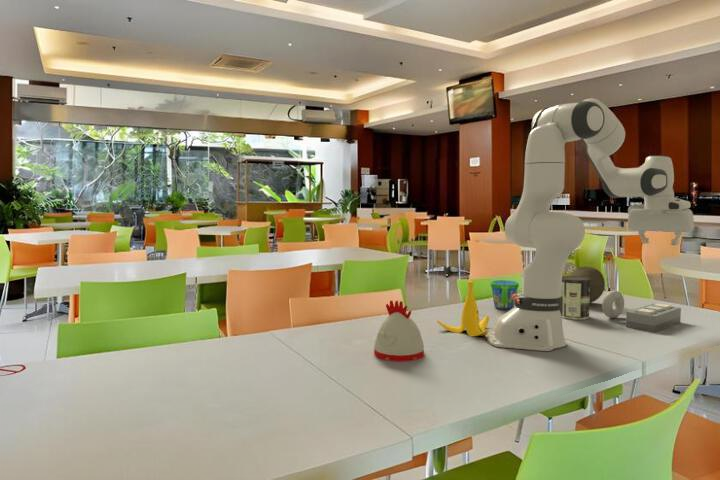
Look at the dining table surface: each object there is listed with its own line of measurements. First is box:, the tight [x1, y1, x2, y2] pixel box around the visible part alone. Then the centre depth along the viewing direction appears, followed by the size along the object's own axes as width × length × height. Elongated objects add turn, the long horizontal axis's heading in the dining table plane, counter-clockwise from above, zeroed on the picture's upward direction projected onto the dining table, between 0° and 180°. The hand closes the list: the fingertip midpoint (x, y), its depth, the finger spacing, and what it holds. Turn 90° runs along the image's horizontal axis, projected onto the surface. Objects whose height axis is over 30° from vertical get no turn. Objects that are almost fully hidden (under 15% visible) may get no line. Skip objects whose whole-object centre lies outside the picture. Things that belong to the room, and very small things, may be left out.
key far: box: [653, 303, 672, 310], centre depth 180 cm, size 4×4×2 cm
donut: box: [601, 289, 625, 319], centre depth 185 cm, size 10×3×10 cm, turn 119°
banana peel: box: [436, 280, 490, 337], centre depth 169 cm, size 16×19×17 cm
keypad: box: [625, 303, 682, 333], centre depth 176 cm, size 20×9×5 cm, turn 128°
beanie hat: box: [373, 300, 425, 362], centre depth 146 cm, size 14×14×15 cm
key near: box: [637, 309, 655, 315], centre depth 172 cm, size 4×4×2 cm
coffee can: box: [561, 275, 590, 321], centre depth 188 cm, size 10×10×14 cm
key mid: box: [645, 306, 663, 312], centre depth 176 cm, size 4×4×2 cm
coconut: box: [569, 266, 606, 304], centre depth 209 cm, size 14×14×15 cm
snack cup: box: [490, 279, 520, 311], centre depth 204 cm, size 16×10×10 cm
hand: (659, 244), depth 178 cm, fingers open, 8 cm apart
